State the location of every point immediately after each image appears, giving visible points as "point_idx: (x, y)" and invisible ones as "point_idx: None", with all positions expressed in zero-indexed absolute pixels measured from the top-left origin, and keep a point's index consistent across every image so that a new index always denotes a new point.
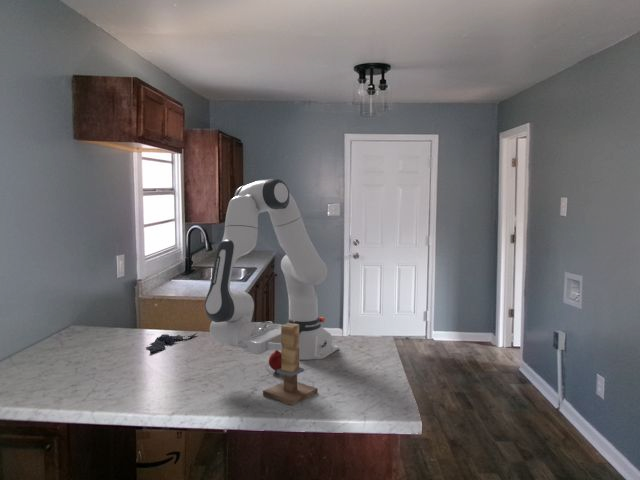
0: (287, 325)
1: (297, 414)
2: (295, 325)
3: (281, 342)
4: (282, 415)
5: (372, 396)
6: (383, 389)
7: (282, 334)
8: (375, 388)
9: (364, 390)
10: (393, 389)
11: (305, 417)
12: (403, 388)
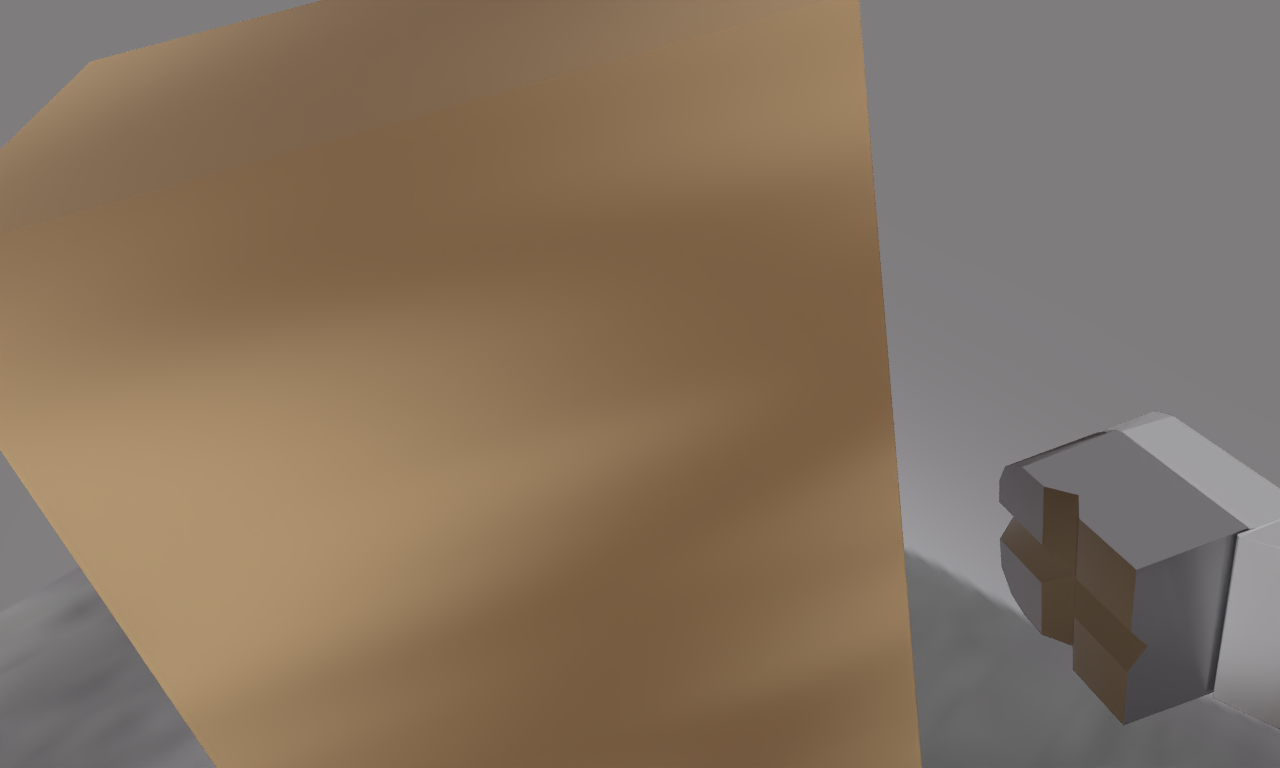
0: (522, 10)
1: (1055, 695)
2: (300, 16)
3: (915, 760)
4: (1238, 760)
5: None
6: (75, 679)
7: (863, 435)
8: (72, 730)
9: (159, 752)
10: (49, 640)
11: (1010, 614)
12: (4, 616)
